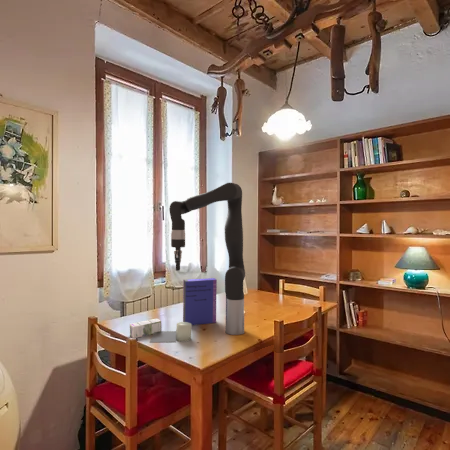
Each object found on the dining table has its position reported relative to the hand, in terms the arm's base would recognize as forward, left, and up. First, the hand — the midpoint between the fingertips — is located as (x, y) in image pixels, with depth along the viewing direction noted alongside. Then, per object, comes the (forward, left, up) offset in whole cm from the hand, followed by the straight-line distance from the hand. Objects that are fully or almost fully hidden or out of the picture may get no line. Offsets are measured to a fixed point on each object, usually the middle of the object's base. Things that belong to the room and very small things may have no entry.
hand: (177, 270), depth 185 cm
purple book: (-12, -1, -29) cm, 32 cm away
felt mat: (+4, +21, -29) cm, 36 cm away
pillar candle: (-5, +24, -29) cm, 38 cm away
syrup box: (+8, +13, -26) cm, 30 cm away
